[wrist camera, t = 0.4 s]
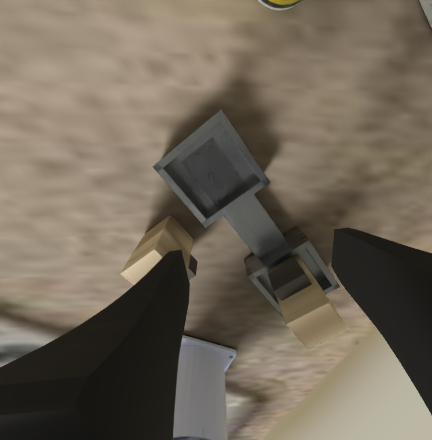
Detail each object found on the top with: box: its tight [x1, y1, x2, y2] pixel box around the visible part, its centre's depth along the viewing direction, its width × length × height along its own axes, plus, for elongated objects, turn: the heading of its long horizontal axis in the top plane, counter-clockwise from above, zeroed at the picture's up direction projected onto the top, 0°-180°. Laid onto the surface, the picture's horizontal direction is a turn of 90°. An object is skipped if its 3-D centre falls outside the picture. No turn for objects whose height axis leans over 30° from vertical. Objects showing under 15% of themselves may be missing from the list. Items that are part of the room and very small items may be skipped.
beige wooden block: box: [120, 215, 197, 285], centre depth 18 cm, size 4×3×6 cm
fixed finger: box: [267, 254, 349, 349], centre depth 18 cm, size 4×3×6 cm
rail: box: [153, 109, 340, 317], centre depth 19 cm, size 18×6×3 cm, turn 37°
